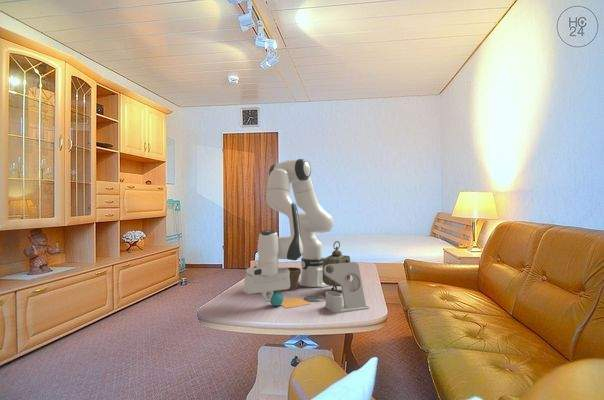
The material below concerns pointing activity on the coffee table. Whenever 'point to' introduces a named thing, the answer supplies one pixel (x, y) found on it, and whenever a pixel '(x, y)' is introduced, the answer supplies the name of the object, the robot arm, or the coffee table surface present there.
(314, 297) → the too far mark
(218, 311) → the coffee table surface
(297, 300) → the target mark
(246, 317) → the coffee table surface
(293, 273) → the flower pot
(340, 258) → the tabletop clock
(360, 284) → the grey coffee machine
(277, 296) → the ball
